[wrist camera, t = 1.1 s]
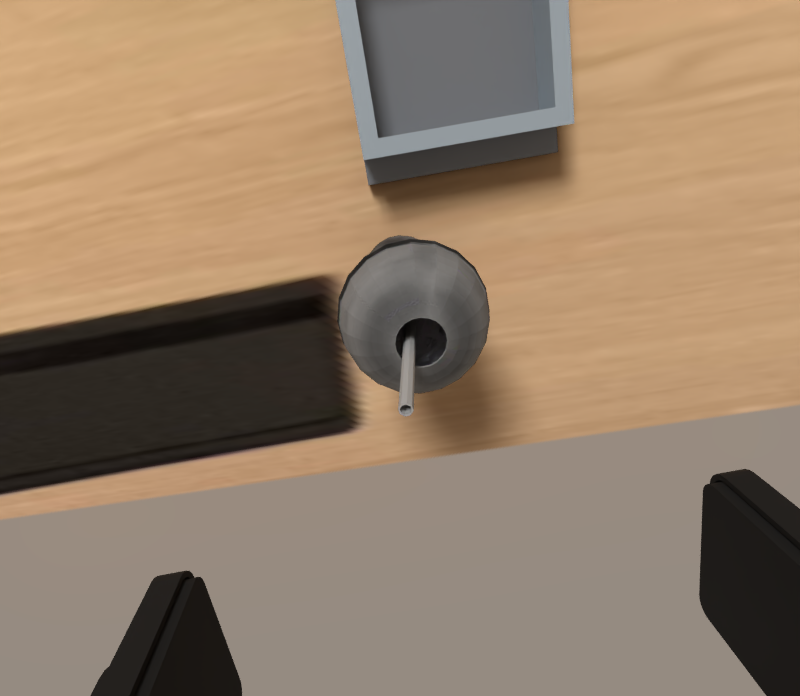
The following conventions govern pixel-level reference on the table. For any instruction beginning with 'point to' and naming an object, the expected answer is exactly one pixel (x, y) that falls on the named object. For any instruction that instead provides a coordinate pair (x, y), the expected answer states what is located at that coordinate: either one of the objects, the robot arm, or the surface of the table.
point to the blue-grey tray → (456, 81)
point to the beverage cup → (413, 316)
